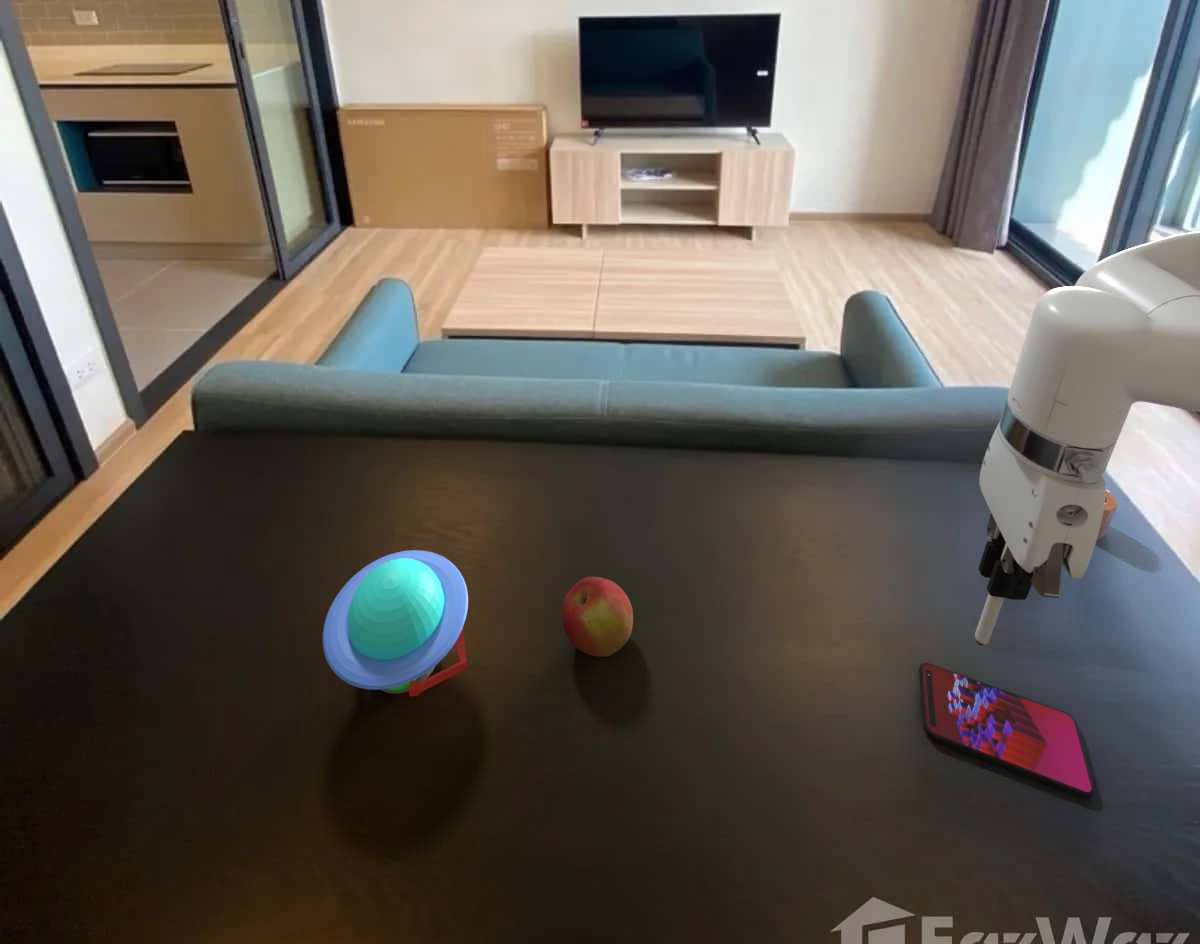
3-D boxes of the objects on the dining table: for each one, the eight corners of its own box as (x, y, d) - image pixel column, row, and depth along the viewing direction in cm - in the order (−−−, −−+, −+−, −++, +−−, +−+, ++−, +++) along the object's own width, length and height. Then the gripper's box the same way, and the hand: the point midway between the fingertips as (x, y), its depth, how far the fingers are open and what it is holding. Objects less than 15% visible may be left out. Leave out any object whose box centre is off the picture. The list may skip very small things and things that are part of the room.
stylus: (983, 638, 64) (1018, 537, 58) (988, 650, 62) (1025, 549, 57) (970, 636, 64) (1004, 536, 58) (975, 649, 63) (1010, 548, 57)
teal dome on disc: (320, 755, 65) (296, 666, 59) (350, 609, 78) (332, 527, 73) (472, 728, 67) (461, 641, 62) (474, 591, 81) (466, 510, 75)
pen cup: (1090, 513, 92) (1103, 482, 90) (1111, 544, 88) (1125, 512, 85) (1053, 509, 93) (1065, 478, 90) (1071, 539, 88) (1084, 507, 86)
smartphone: (1097, 799, 61) (925, 732, 66) (1094, 804, 62) (923, 737, 66) (1074, 713, 68) (919, 658, 73) (1072, 718, 68) (917, 663, 73)
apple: (588, 593, 81) (588, 548, 77) (643, 632, 76) (646, 586, 73) (550, 644, 75) (548, 598, 72) (607, 689, 71) (608, 642, 67)
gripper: (1168, 517, 45) (1091, 681, 52) (1056, 375, 59) (1007, 519, 66) (1052, 505, 46) (992, 667, 53) (969, 368, 60) (931, 510, 67)
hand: (1001, 584), depth 60 cm, fingers closed on stylus, 1 cm apart
